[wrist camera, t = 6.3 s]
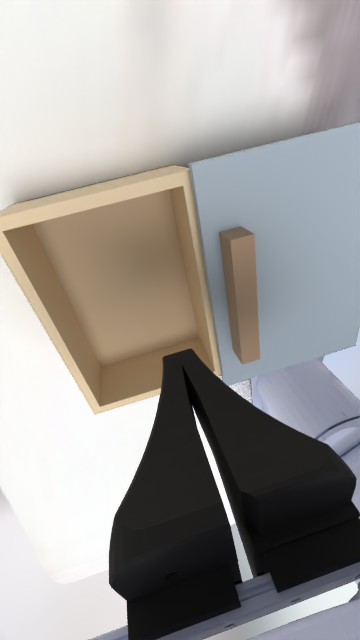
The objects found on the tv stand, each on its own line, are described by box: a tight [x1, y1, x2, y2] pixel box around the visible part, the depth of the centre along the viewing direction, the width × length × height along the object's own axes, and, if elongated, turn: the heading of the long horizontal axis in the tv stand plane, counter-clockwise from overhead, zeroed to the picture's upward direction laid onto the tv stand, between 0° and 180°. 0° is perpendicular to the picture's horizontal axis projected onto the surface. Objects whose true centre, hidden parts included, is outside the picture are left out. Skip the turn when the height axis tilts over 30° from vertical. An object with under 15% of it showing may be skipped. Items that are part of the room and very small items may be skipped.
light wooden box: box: [0, 165, 221, 414], centre depth 19 cm, size 14×10×5 cm
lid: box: [188, 121, 360, 386], centre depth 16 cm, size 15×11×2 cm
